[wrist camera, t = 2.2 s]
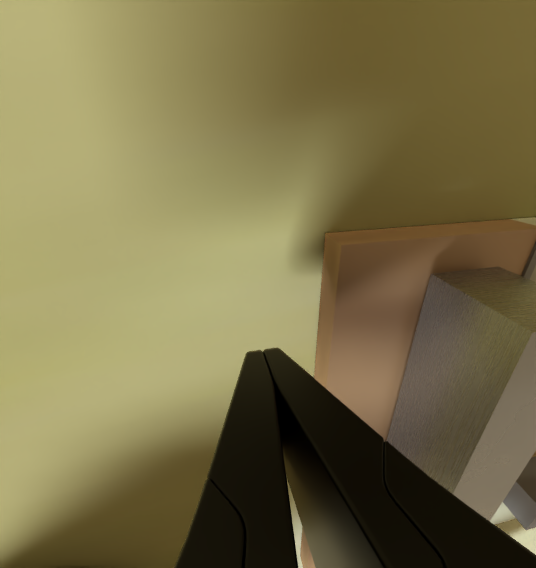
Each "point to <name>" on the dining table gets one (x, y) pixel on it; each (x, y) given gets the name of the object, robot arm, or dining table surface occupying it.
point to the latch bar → (471, 385)
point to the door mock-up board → (404, 317)
